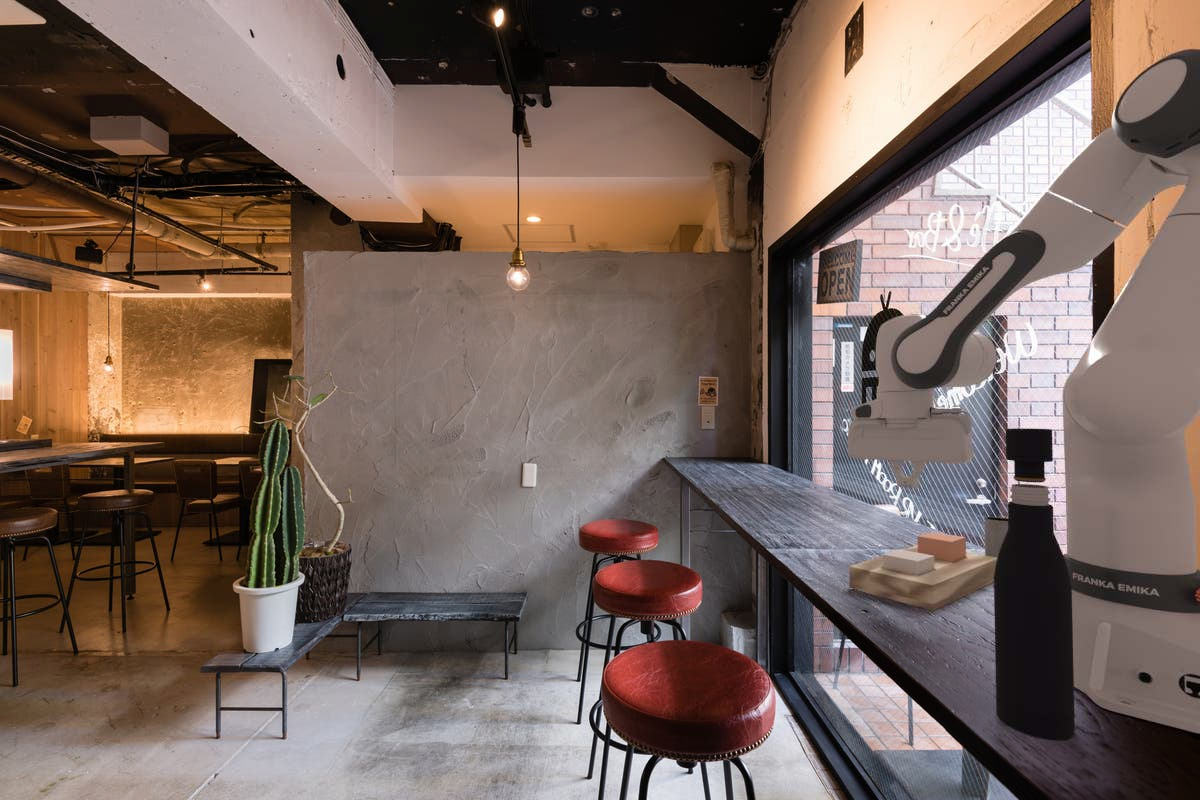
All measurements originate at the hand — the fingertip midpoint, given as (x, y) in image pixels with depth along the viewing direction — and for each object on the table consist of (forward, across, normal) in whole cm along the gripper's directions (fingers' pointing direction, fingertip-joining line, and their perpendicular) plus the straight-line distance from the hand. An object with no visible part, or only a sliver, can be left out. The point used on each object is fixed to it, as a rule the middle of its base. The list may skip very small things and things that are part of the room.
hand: (907, 487), depth 101 cm
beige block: (+16, 0, 0) cm, 16 cm away
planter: (+19, -5, -26) cm, 32 cm away
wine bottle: (+19, -27, +33) cm, 47 cm away
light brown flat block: (+18, 0, -6) cm, 19 cm away
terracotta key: (+15, 0, -13) cm, 20 cm away
